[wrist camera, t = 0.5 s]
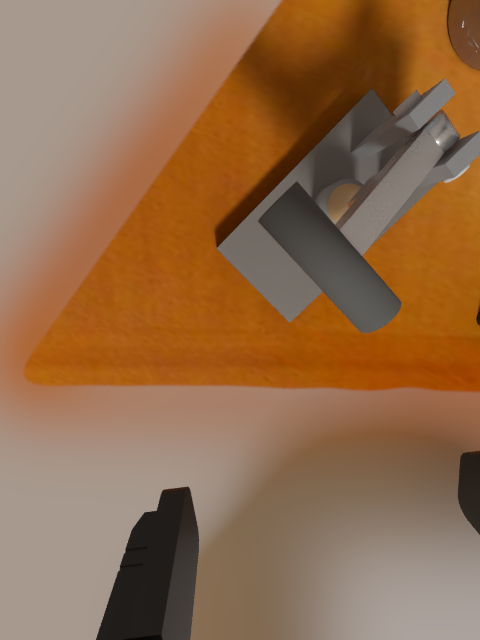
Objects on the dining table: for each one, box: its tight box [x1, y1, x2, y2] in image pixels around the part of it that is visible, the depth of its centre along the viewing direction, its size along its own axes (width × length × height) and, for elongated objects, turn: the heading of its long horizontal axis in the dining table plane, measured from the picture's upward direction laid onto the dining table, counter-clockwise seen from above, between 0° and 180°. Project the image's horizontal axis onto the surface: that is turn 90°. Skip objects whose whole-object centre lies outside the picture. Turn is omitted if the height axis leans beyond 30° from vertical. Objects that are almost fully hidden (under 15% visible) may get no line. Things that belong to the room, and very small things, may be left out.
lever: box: [258, 110, 460, 333], centre depth 22 cm, size 16×10×4 cm, turn 135°
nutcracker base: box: [216, 79, 480, 323], centre depth 28 cm, size 20×11×12 cm, turn 135°
